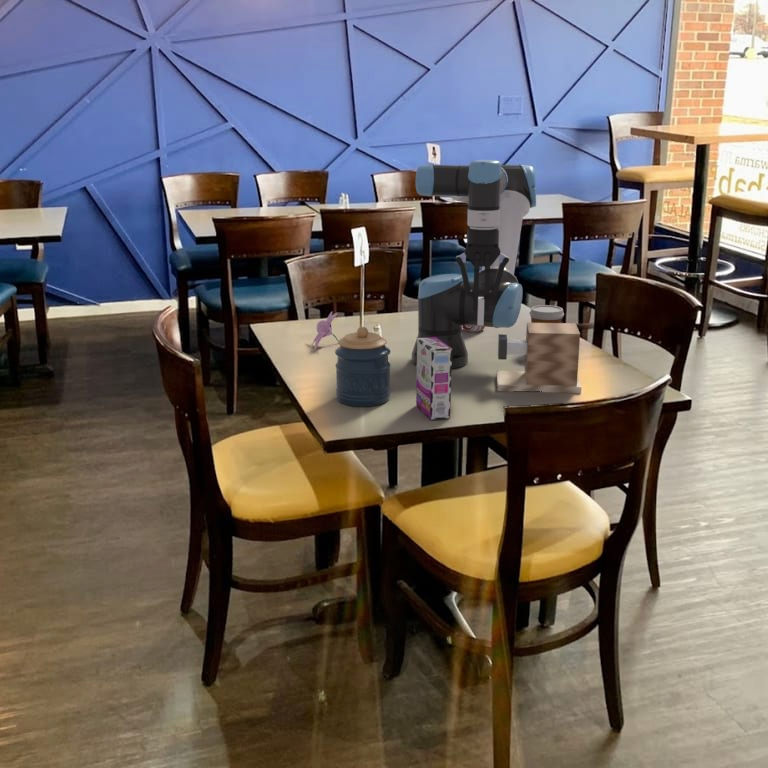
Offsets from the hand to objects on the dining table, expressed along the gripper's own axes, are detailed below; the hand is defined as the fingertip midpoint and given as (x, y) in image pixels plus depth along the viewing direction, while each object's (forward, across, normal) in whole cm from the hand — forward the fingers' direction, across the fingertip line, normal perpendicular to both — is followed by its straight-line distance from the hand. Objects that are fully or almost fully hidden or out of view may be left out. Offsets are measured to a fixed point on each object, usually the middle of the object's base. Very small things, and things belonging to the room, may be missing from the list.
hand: (480, 324), depth 224 cm
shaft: (+8, +12, 0) cm, 15 cm away
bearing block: (+15, +15, 0) cm, 21 cm away
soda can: (+15, -1, +52) cm, 54 cm away
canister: (+16, -27, -14) cm, 34 cm away
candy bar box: (+16, -10, -22) cm, 29 cm away
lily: (+16, -44, +33) cm, 57 cm away
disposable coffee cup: (+15, +19, +31) cm, 39 cm away
